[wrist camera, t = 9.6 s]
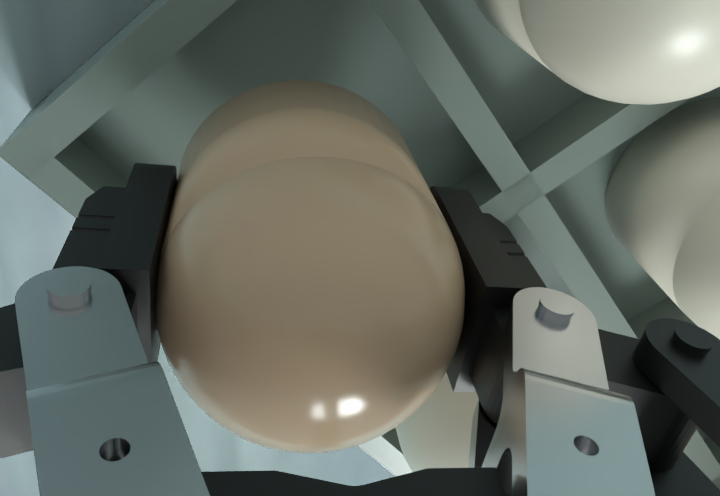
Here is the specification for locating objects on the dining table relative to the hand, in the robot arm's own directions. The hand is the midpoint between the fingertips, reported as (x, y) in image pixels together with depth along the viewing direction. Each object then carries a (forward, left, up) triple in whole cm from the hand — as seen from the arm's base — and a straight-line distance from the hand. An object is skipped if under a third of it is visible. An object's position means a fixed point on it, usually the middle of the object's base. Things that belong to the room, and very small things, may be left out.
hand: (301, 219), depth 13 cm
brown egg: (0, 0, -1) cm, 1 cm away
